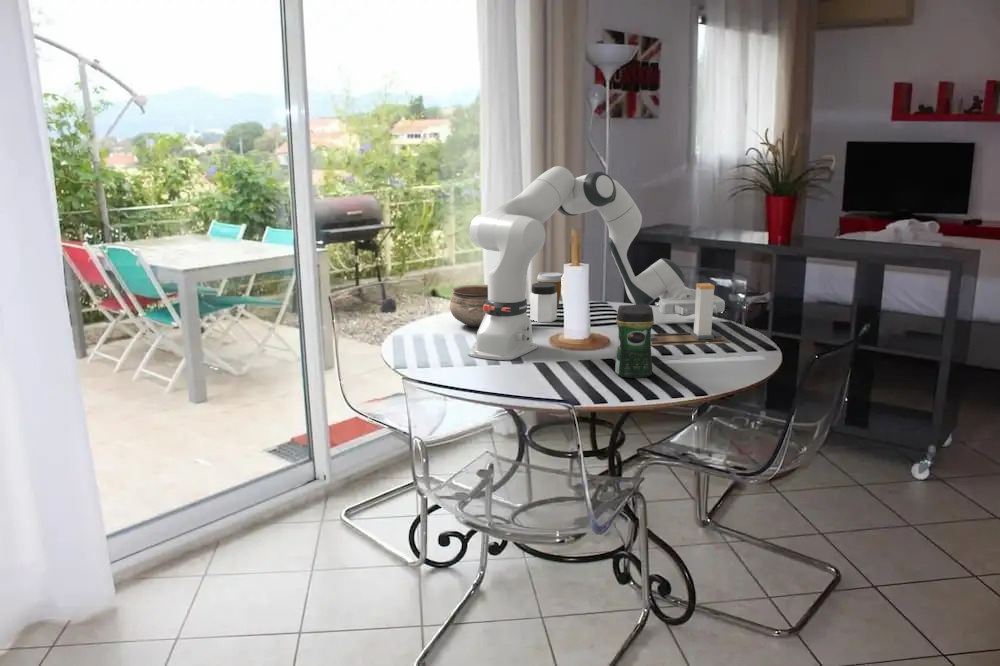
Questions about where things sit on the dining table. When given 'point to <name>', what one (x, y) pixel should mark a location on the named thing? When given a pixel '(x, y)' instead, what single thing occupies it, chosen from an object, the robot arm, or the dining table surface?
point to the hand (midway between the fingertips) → (699, 311)
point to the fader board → (684, 339)
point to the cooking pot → (469, 304)
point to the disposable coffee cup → (551, 281)
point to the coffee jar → (634, 341)
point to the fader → (703, 311)
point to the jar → (543, 302)
